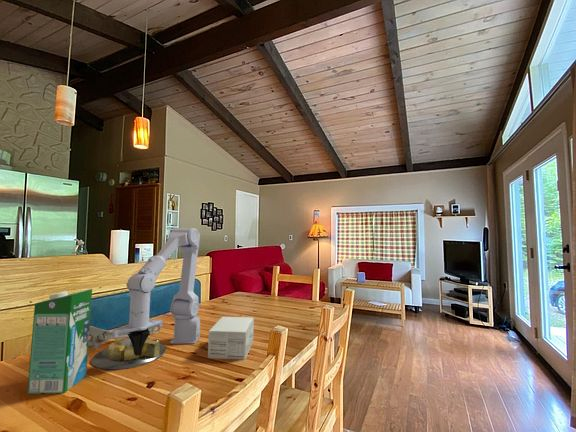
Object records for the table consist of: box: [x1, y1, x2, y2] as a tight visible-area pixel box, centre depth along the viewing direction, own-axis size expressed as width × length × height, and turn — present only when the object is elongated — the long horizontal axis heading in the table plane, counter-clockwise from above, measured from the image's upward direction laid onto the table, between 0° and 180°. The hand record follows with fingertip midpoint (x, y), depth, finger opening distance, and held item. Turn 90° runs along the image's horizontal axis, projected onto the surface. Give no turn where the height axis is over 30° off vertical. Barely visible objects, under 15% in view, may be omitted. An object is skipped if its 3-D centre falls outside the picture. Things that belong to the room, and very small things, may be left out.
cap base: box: [90, 337, 166, 371], centre depth 96 cm, size 22×22×5 cm
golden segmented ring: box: [108, 336, 161, 361], centre depth 95 cm, size 13×17×4 cm
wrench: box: [88, 325, 162, 350], centre depth 108 cm, size 8×2×30 cm
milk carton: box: [26, 288, 93, 395], centre depth 77 cm, size 9×9×25 cm
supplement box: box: [207, 316, 255, 360], centre depth 102 cm, size 17×13×9 cm
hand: (137, 354), depth 89 cm, fingers closed
